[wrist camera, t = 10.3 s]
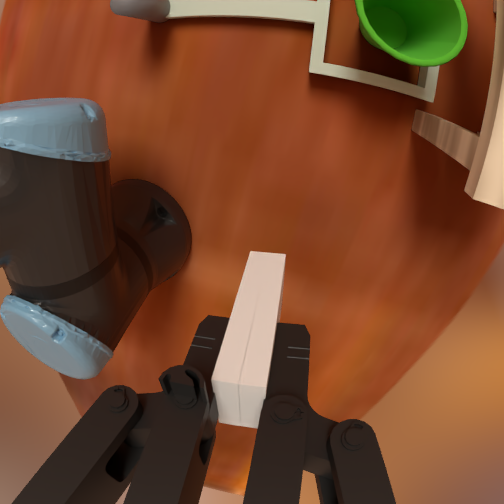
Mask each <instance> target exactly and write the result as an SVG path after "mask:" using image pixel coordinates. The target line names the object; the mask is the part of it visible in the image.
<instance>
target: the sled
mask: <svg viewBox="0 0 504 504" xmlns="http://www.w3.org/2000/svg"><path fill="white" fill-rule="evenodd" d="M110 7H111V10H112V11H113V12H114V13H115V14H117V15H122V16H128V17H133V18H138V19H143V20H148V21H152V22H157V23H162V22H165V21H167V20H169V19H174V18H192V17H246V18H263V19H276V20H286V21H295V22H303V23H310V24H315V25H314V34H313V42H312V51H311V59H310V67H309V72H310V73H316V74H322V75H327V76H333V77H338V78H343V79H348V80H352V81H357V82H361V83H366V84H370V85H374V86H378V87H382V88H385V89H389V90H393V91H396V92H400V93H403V94H407V95H410V96H413V97H416V98H420V99H423V100H426V101H429V102H432V103H433V102H434V96H435V91H436V85H437V79H438V72H439V66H440V65H439V66H436V67H420V72H419V78H418V84H417V86H416V85H413V84H410V83H407V82H403V81H400V80H397V79H393V78H389V77H386V76H382V75H378V74H374V73H370V72H366V71H362V70H358V69H353V68H348V67H344V66H339V65H333V64H328V63H323V58H324V50H325V42H326V34H327V25H328V16H329V7H330V0H317V2H315V1H308V0H111V2H110Z"/></svg>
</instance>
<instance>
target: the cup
mask: <svg viewBox="0 0 504 504" xmlns="http://www.w3.org/2000/svg"><path fill="white" fill-rule="evenodd" d="M355 5H356V11H357V15H358V17H359V26H360V30H361V33H362V35H363V37H364V38H365V39H366V41H367V42H369V43H370V44H371V45H372V46H374V47H376V48H378V49H381V50H383V51H385V52H387V53H388V54H390V55H391V56H393V57H394V58H395V59H398V60H400V61H403V62H405V63H407V64H410V65H415V66H420V67H436V66H439V65H442V64H445V63H448V62H449V61H450V60H452V59H453V58H455V57H456V56H457V55H458V54H459V52H460V51H461V50H462V48H463V46H464V43H465V41H466V38H467V28H468V24H467V18H466V12H465V10H464V7H463V5H462V3H461V0H355Z"/></svg>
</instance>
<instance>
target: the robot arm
mask: <svg viewBox="0 0 504 504" xmlns="http://www.w3.org/2000/svg"><path fill="white" fill-rule="evenodd" d="M110 158H111V151H110V149H109V148H108V140H107V130H106V119H105V114H104V112H103V110H102V108H101V107H100V106H99V105H98V104H97V103H95V102H94V101H92V100H88V99H83V98H45V99H32V100H23V101H16V102H10V103H4V104H0V268H1V267H3V269H4V271H5V274H6V276H7V279H8V281H9V284H10V286H11V289H12V293H11V294H10V295H7V296H6V297H5V298H4V302H3V303H2V305H1V309H0V314H1V318H2V320H3V322H4V324H5V326H6V327H7V329H8V330H9V331H10V333H11V334H12V335H13V336H14V338H15V339H16V340H17V341H18V342H19V343H20V344H21V345H22V346H23V347H24V348H25V349H26V350H27V351H28V352H30V353H31V354H32V355H33V356H35V357H36V358H37V359H39V360H40V361H41V362H43V363H44V364H46V365H48V366H49V367H51V368H53V369H54V370H56V371H58V372H60V373H62V374H64V375H67V376H70V377H73V378H77V379H89V378H93V377H95V376H97V375H98V374H99V373H100V371H101V370H102V369H103V367H104V366H105V365H106V363H107V362H108V361H109V359H110V358H112V356H113V351H114V350H115V348H116V346H117V345H118V343H119V341H120V340H121V338H122V336H123V334H124V333H125V331H126V329H127V328H128V326H129V324H130V323H131V321H132V319H133V318H134V316H135V315H136V313H137V311H138V310H139V308H140V306H141V305H142V303H143V302H144V300H145V298H146V297H147V295H148V294H149V292H150V291H151V290H152V289H153V288H155V287H156V286H158V285H159V284H160V283H162V282H164V281H166V280H168V279H169V278H171V277H172V276H174V275H175V274H176V273H177V272H178V271H179V269H180V268H181V267H182V265H183V263H184V262H185V260H186V258H187V257H188V254H189V252H190V248H191V231H190V226H189V223H188V220H187V218H186V216H185V214H184V212H183V210H182V208H181V207H180V206H179V204H178V203H177V202H176V201H175V199H174V198H173V197H172V196H171V195H169V194H168V193H167V192H166V191H165V190H163V189H162V188H160V187H158V186H157V185H155V184H152V183H150V182H147V181H143V180H138V179H128V180H122V181H119V182H117V183H115V184H113V185H112V186H111V180H110V167H109V159H110ZM285 257H286V254H277V253H265V252H254V251H250V254H249V258H248V261H247V264H246V267H245V271H244V274H243V277H242V281H241V284H240V287H239V290H238V294H237V297H236V300H235V303H234V307H233V310H232V313H231V317H230V318H226V317H218V316H211V315H208V316H207V317H206V318H205V319H204V320H203V321H202V322H201V323H200V324H199V326H198V329H197V331H196V334H195V337H194V339H193V341H192V344H191V346H190V349H189V351H188V354H187V356H186V359H185V362H184V364H183V365H178V366H174V367H170V368H169V369H167V370H166V371H164V372H163V373H162V375H161V376H160V378H159V381H160V384H161V386H162V389H163V391H162V392H157V393H145V394H136V392H135V391H134V390H132V389H131V388H130V387H127V386H124V385H116V386H113V387H110V388H108V389H107V390H106V391H104V392H103V393H102V394H101V395H100V397H99V398H98V399H97V400H96V401H95V403H94V404H93V405H92V406H91V407H90V409H89V410H88V411H87V412H86V413H85V414H84V416H83V417H82V418H81V419H80V420H79V422H78V423H77V424H76V425H75V427H74V428H73V429H72V430H71V431H70V432H69V434H68V435H67V436H66V437H65V439H64V440H63V441H62V442H61V443H60V445H59V446H58V447H57V448H56V449H55V451H54V452H53V453H52V454H51V455H50V457H49V458H48V459H47V460H46V462H45V463H44V464H43V465H42V466H41V468H40V469H39V470H38V471H37V473H36V474H35V475H34V476H33V478H32V479H31V480H30V481H29V483H28V484H27V485H26V486H25V488H24V489H23V490H22V491H21V493H20V494H19V495H18V496H17V498H16V499H15V500H14V501H13V503H12V504H115V503H116V502H117V501H118V499H119V498H120V496H121V495H122V494H123V492H124V491H125V489H126V488H127V487H128V485H129V484H130V482H131V484H130V487H129V490H128V492H127V495H126V498H125V501H124V503H123V504H198V503H199V499H200V496H201V492H202V488H203V484H204V481H205V477H206V473H207V469H208V465H209V461H210V458H211V454H212V450H213V446H214V442H215V438H216V431H215V427H216V423H217V420H218V419H219V423H225V424H231V425H237V426H244V427H251V428H258V429H257V435H256V440H255V445H254V450H253V456H252V461H251V466H250V471H249V476H248V481H247V486H246V491H245V496H244V501H243V504H299V499H300V490H301V482H302V473H303V470H305V471H308V472H311V473H313V474H315V478H316V483H317V489H318V494H319V499H320V504H396V502H395V498H394V495H393V492H392V488H391V484H390V481H389V477H388V474H387V470H386V467H385V464H384V460H383V458H382V454H381V451H380V448H379V445H378V442H377V438H376V435H375V433H374V431H373V429H372V427H371V426H369V425H368V424H367V423H365V422H364V421H360V420H357V419H348V420H345V421H342V422H340V423H339V422H336V421H333V420H330V419H327V418H325V417H322V416H320V415H319V414H317V413H316V412H315V411H314V410H313V409H312V408H311V406H310V404H309V402H308V397H307V390H308V374H309V354H310V335H309V333H308V331H307V328H306V326H305V325H299V324H288V323H279V321H280V314H281V306H282V296H283V284H284V271H285Z"/></svg>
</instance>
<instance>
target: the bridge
mask: <svg viewBox="0 0 504 504" xmlns="http://www.w3.org/2000/svg"><path fill="white" fill-rule="evenodd" d="M494 12H495V13H496V34H495V47H494V57H493V66H492V73H491V80H490V87H489V93H488V98H487V104H486V109H485V114H484V119H483V123H482V128H481V132H478V131H477V134H476V133H474V132H472V131H470V130H467V129H465V128H463V127H461V126H459V125H457V124H454V123H452V122H450V121H448V120H445V119H443V118H441V117H438V116H436V115H433V114H430V113H427V112H424V111H421V110H417V109H416V110H415V115H414V120H413V125H412V131H414V132H415V133H417V134H418V135H420V136H421V137H423V138H424V139H426V140H427V141H429V142H430V143H432V144H433V145H435V146H436V147H438V148H439V149H441V150H442V151H444V152H445V153H446V154H448V155H449V156H451V157H452V158H453V159H455V160H456V161H458V162H459V163H460V164H462V165H463V166H464V167H466V168H467V169H468V170H470V173H469V176H468V180H467V183H466V186H465V189H464V191H465V192H466V193H467V194H468V195H469V196H470V197H471V198H472V199H474V200H478V201H481V202H484V203H487V204H490V205H493V206H495V207H498V208H501V209H504V0H494Z"/></svg>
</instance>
